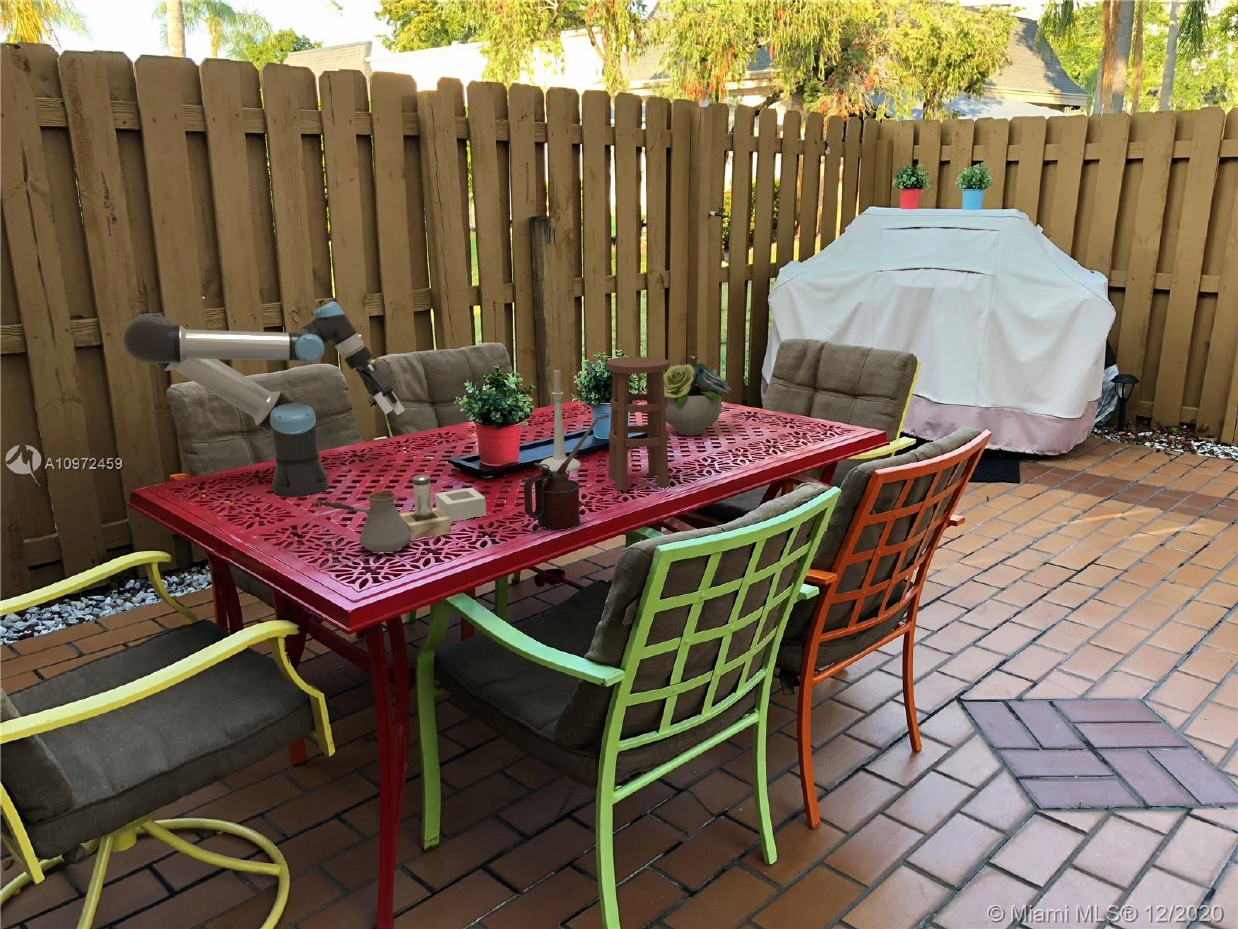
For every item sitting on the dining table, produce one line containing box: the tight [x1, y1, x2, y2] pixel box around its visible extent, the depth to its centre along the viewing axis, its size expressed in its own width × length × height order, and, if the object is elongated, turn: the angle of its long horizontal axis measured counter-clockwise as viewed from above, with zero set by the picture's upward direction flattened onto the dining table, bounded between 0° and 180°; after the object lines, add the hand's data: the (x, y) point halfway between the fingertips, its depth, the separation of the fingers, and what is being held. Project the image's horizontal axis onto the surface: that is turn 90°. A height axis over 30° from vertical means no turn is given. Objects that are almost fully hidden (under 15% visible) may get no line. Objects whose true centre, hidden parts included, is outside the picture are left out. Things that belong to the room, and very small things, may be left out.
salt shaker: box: [411, 474, 433, 522], centre depth 213 cm, size 4×4×14 cm
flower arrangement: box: [663, 362, 733, 436], centre depth 304 cm, size 25×25×24 cm
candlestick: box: [538, 369, 582, 473], centre depth 265 cm, size 13×13×30 cm
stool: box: [605, 356, 670, 491], centre depth 247 cm, size 20×35×20 cm
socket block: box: [399, 506, 452, 541], centre depth 215 cm, size 10×10×4 cm
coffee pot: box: [313, 491, 410, 552], centre depth 200 cm, size 21×12×15 cm, turn 131°
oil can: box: [523, 414, 611, 531], centre depth 220 cm, size 28×11×25 cm, turn 136°
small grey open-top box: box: [434, 487, 487, 522], centre depth 227 cm, size 10×10×5 cm
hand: (395, 412), depth 265 cm, fingers open, 13 cm apart
